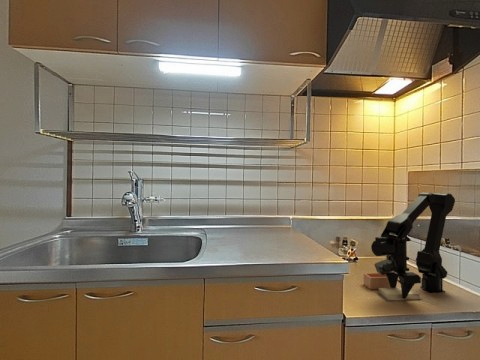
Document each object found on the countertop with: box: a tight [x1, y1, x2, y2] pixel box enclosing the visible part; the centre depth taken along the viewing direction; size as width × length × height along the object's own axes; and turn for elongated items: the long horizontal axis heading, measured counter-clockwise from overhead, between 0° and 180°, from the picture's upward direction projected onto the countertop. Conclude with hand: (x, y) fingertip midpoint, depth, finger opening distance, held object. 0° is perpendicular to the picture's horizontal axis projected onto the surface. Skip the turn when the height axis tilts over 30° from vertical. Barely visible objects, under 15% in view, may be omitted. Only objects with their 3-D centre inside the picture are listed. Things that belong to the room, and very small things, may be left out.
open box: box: [363, 272, 391, 290], centre depth 130 cm, size 10×6×5 cm, turn 94°
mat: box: [374, 291, 424, 303], centre depth 119 cm, size 14×9×1 cm, turn 94°
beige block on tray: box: [378, 286, 421, 300], centre depth 119 cm, size 12×7×2 cm, turn 94°
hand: (398, 294), depth 119 cm, fingers closed on beige block on tray, 7 cm apart
